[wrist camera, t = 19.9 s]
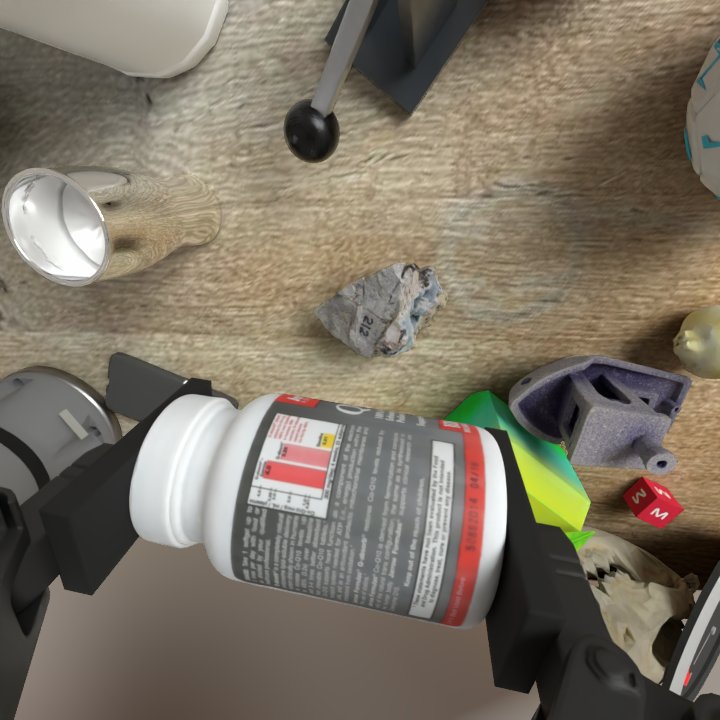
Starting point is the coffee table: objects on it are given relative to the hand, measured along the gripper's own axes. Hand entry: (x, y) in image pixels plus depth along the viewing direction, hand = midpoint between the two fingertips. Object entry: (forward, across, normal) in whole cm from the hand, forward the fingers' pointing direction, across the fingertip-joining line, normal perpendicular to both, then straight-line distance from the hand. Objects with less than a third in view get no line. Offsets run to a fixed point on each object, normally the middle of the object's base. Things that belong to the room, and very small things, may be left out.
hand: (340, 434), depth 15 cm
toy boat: (+25, -18, +7) cm, 32 cm away
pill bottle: (-3, -5, 0) cm, 6 cm away
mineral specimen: (+25, 0, +2) cm, 25 cm away
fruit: (+25, -28, 0) cm, 38 cm away
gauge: (+18, -36, +29) cm, 49 cm away
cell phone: (+23, +23, +17) cm, 36 cm away
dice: (+25, -29, +19) cm, 43 cm away
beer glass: (+24, +19, -4) cm, 31 cm away
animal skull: (+24, -24, +26) cm, 42 cm away
